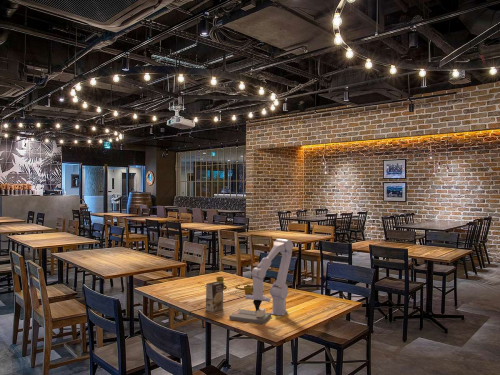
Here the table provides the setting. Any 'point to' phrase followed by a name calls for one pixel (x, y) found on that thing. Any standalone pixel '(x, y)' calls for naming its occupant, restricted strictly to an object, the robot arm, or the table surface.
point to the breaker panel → (249, 316)
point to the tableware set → (247, 288)
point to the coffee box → (214, 296)
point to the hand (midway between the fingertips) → (257, 313)
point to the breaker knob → (260, 312)
